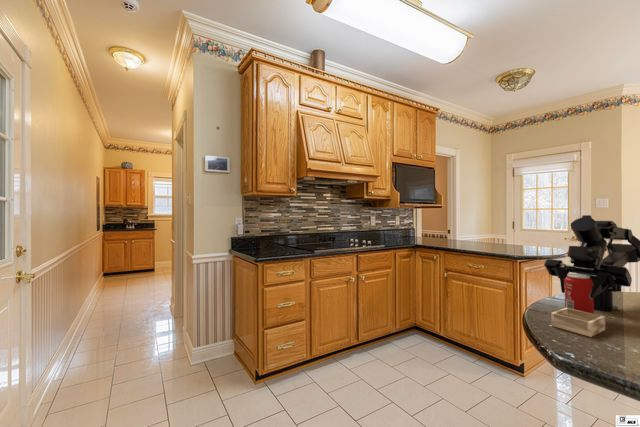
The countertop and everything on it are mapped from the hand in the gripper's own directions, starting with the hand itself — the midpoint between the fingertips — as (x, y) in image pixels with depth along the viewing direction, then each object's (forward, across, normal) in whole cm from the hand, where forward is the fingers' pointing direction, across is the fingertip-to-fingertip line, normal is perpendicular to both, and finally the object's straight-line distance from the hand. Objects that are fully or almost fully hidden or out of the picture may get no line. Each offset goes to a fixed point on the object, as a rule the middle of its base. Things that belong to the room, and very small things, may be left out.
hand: (576, 294), depth 84 cm
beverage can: (+4, 0, +6) cm, 7 cm away
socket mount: (+10, +3, -1) cm, 11 cm away
